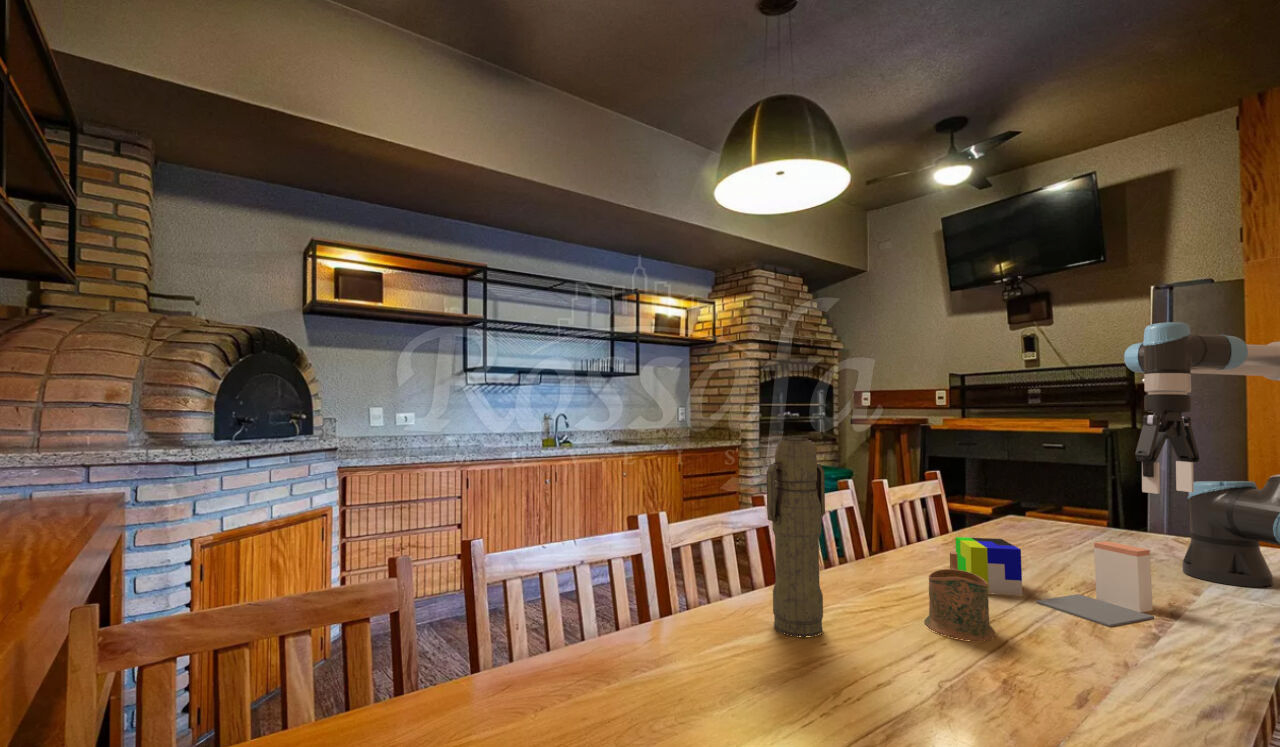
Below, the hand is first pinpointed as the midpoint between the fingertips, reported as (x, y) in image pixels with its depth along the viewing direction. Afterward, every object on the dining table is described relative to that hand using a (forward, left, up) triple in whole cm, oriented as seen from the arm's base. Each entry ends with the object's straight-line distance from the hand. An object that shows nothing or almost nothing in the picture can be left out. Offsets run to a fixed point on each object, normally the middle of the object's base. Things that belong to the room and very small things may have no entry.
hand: (1168, 492), depth 124 cm
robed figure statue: (+85, -13, -23) cm, 89 cm away
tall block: (+14, -1, -23) cm, 27 cm away
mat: (+24, -1, -23) cm, 33 cm away
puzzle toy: (+30, -19, -23) cm, 43 cm away
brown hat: (+55, -5, -23) cm, 60 cm away
